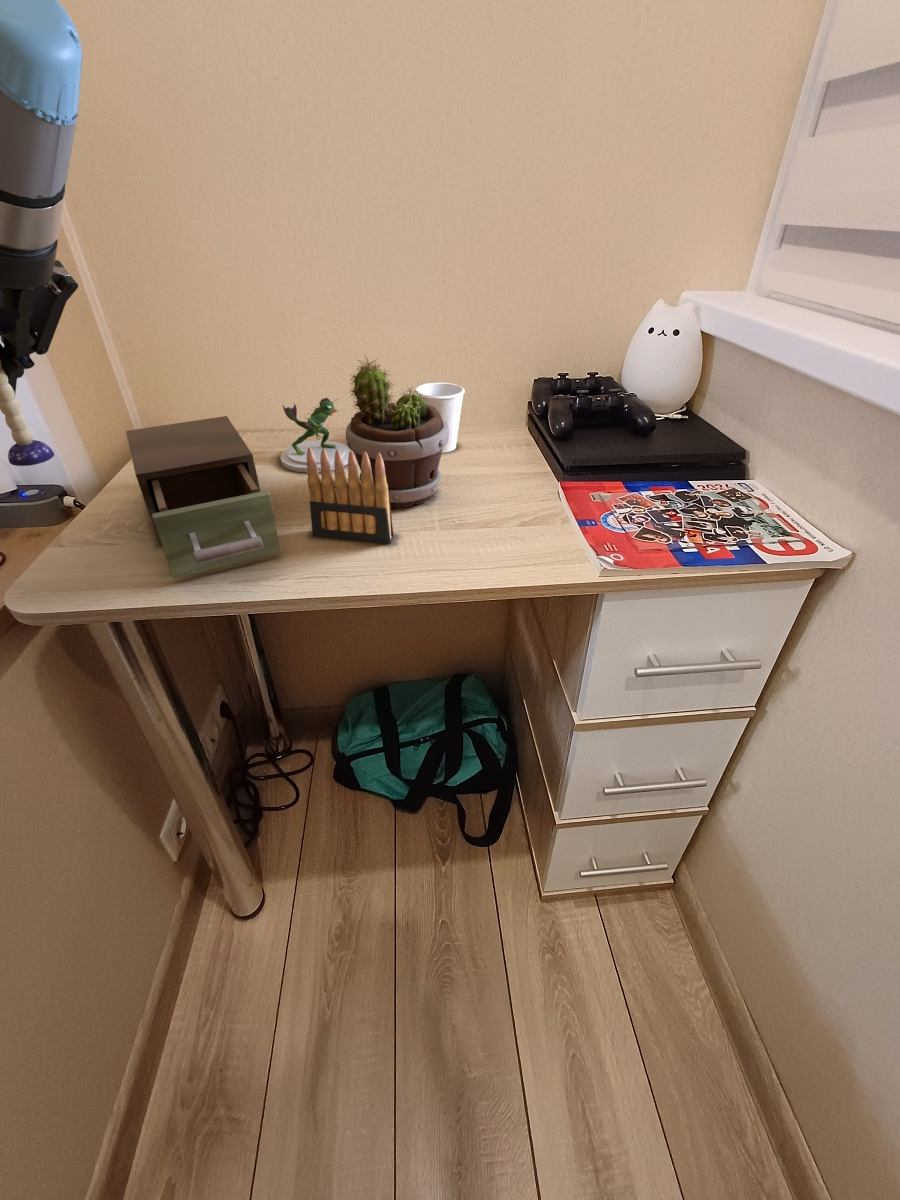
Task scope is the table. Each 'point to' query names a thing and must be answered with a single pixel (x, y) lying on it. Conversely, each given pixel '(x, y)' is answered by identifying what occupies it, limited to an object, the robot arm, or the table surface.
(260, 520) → the drawer
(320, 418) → the monster figurine
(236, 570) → the table surface
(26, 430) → the toy lamp
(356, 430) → the flowerpot
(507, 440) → the table surface
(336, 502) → the ammunition clip
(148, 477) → the cabinet
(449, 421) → the dixie cup
